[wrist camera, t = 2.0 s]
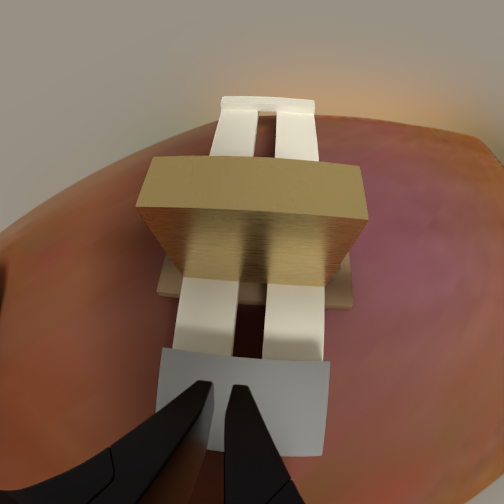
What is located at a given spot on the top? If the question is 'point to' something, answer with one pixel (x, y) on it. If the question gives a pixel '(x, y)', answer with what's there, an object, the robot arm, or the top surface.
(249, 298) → the beam stand
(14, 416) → the top surface
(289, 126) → the white twin rails
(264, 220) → the block
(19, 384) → the top surface
